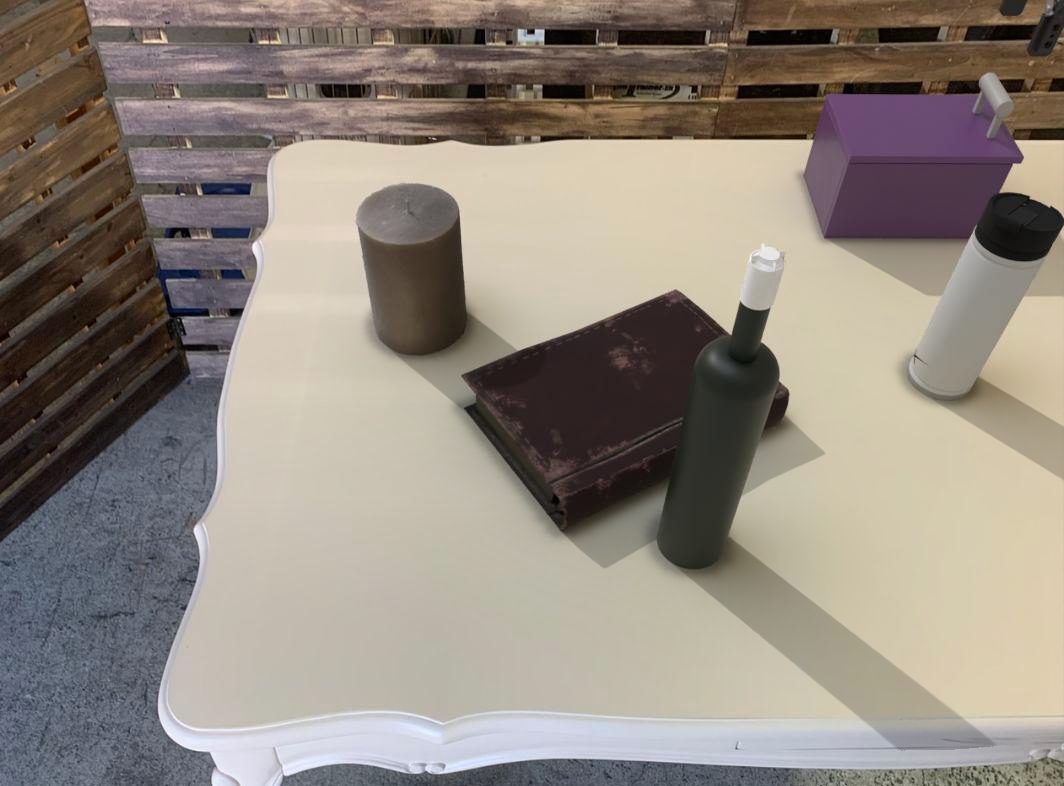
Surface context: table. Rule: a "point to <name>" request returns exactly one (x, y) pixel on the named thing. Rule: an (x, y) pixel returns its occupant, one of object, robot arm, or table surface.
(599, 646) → the table surface
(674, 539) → the wine bottle
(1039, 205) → the travel mug
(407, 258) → the pillar candle
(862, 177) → the box
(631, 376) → the diary
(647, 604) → the table surface
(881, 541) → the table surface
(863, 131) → the lid
